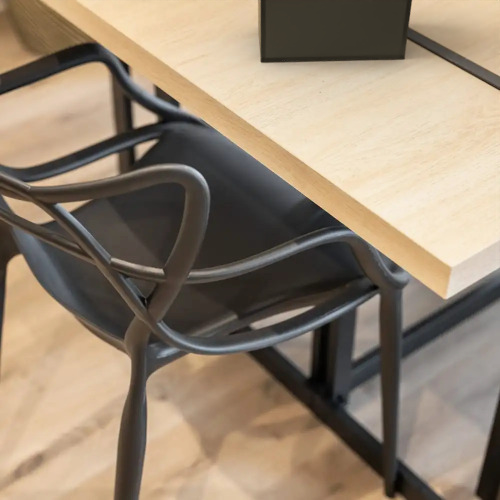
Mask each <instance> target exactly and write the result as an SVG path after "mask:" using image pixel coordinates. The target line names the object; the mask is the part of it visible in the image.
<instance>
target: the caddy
mask: <svg viewBox="0 0 500 500" xmlns="http://www.w3.org/2000/svg"><path fill="white" fill-rule="evenodd" d="M412 3H413V0H257V14H258V15H257V17H258V18H257V21H258V22H257V26H258V27H257V29H258V41H259V42H258V43H259V57H260V63H286V62H289V63H291V62H328V61H329V62H330V61H335V62H336V61H371V60H372V61H377V60H405V57H406V51H407V50H406V49H407V40H408V35H409V26H410V20H411V12H412V5H413V4H412Z"/></svg>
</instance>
